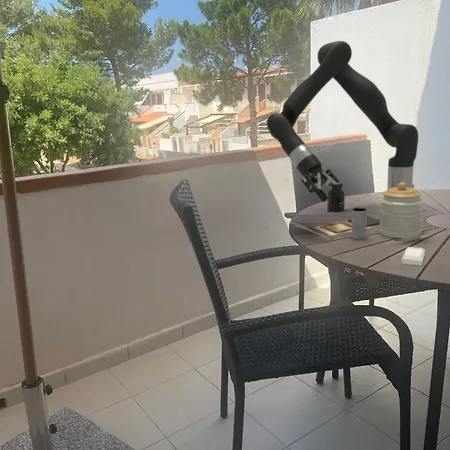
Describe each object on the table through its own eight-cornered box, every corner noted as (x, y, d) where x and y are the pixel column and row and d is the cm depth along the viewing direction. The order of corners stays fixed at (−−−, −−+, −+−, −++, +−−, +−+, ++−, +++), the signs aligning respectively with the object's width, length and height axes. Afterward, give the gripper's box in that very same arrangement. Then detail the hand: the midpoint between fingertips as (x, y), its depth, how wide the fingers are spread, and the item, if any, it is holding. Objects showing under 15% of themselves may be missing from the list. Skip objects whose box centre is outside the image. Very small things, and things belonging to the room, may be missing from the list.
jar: (417, 243, 133) (421, 187, 128) (374, 239, 140) (376, 185, 135) (424, 232, 143) (427, 179, 139) (383, 228, 150) (385, 178, 145)
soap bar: (401, 264, 118) (402, 255, 118) (406, 254, 126) (406, 245, 125) (421, 267, 116) (422, 257, 115) (424, 256, 124) (425, 247, 123)
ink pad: (367, 218, 159) (367, 216, 159) (385, 223, 151) (385, 221, 151) (347, 221, 156) (347, 219, 156) (364, 227, 148) (365, 225, 148)
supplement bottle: (345, 214, 170) (345, 184, 167) (327, 214, 172) (327, 185, 169) (343, 210, 177) (344, 181, 174) (326, 210, 178) (327, 181, 175)
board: (371, 219, 162) (371, 214, 161) (393, 226, 152) (393, 221, 151) (312, 230, 152) (312, 225, 152) (331, 238, 142) (331, 233, 142)
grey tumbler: (349, 239, 141) (349, 208, 138) (362, 237, 141) (363, 207, 139) (354, 243, 137) (355, 211, 134) (368, 242, 137) (369, 210, 134)
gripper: (298, 156, 140) (328, 194, 135) (323, 151, 150) (352, 187, 144) (285, 171, 146) (314, 208, 140) (311, 165, 155) (338, 200, 150)
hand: (333, 197), depth 142 cm, fingers open, 8 cm apart
